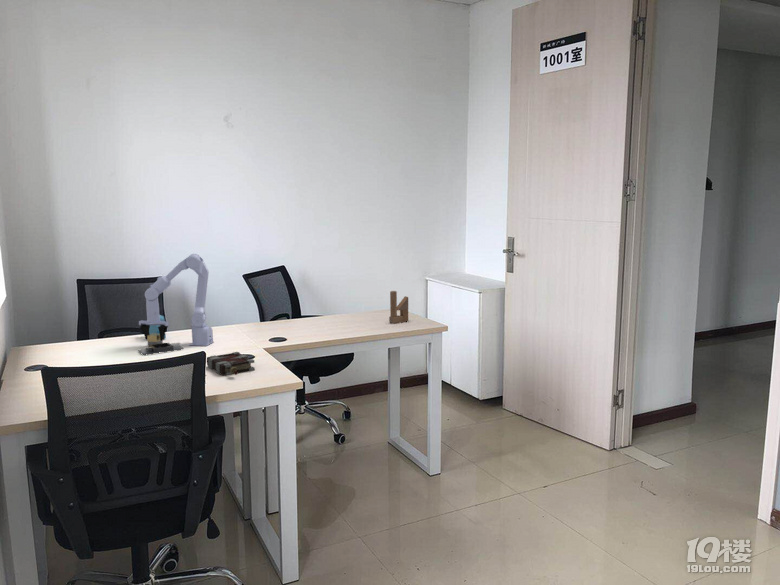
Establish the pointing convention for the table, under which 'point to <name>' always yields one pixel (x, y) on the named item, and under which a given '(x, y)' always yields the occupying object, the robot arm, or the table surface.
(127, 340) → the table surface
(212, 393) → the table surface
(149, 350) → the shaft rig
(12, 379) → the table surface
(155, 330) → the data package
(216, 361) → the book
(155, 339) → the coupler
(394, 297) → the brown wooden bracket
